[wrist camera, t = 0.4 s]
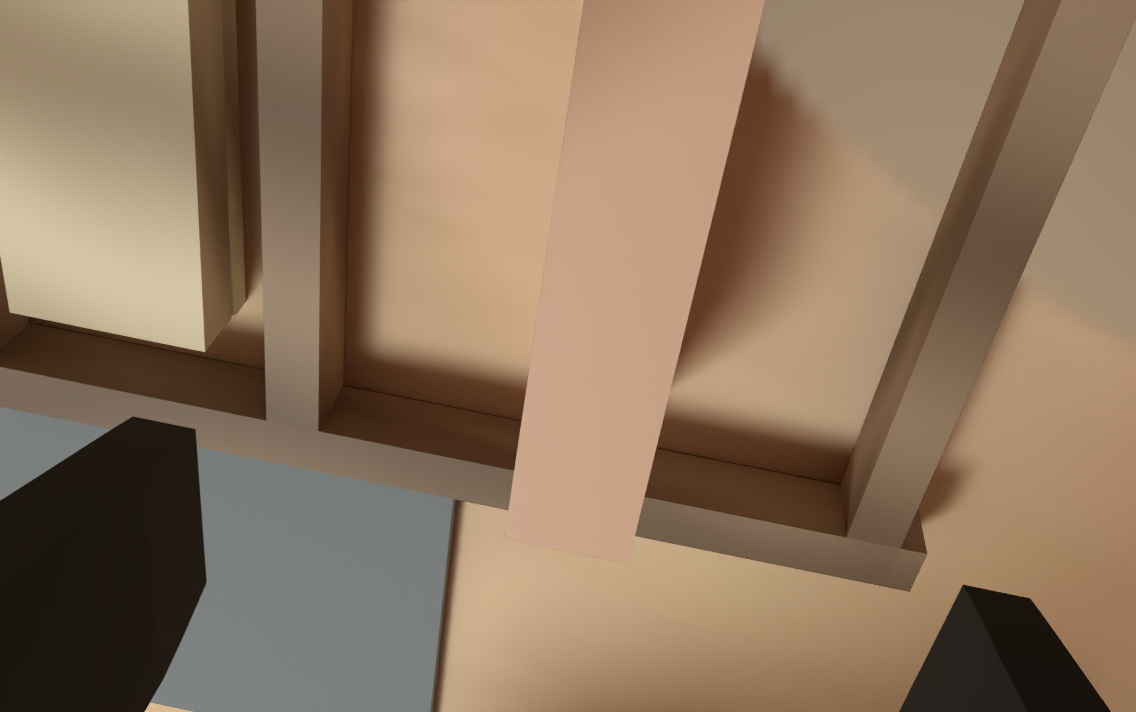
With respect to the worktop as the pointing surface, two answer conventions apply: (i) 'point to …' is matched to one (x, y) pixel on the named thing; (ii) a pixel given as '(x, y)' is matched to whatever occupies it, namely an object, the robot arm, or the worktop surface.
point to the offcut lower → (233, 157)
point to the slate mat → (291, 582)
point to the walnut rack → (489, 443)
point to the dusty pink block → (624, 260)
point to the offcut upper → (115, 166)
